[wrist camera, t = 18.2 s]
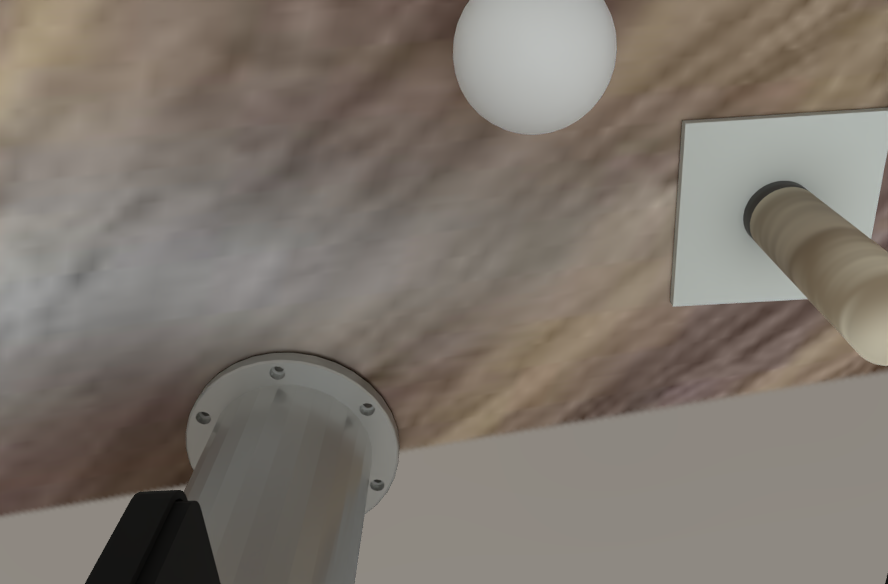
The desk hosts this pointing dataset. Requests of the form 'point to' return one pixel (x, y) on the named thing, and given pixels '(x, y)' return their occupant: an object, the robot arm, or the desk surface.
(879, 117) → the mat
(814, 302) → the beige cylinder
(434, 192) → the desk surface
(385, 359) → the desk surface
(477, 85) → the lightbulb
